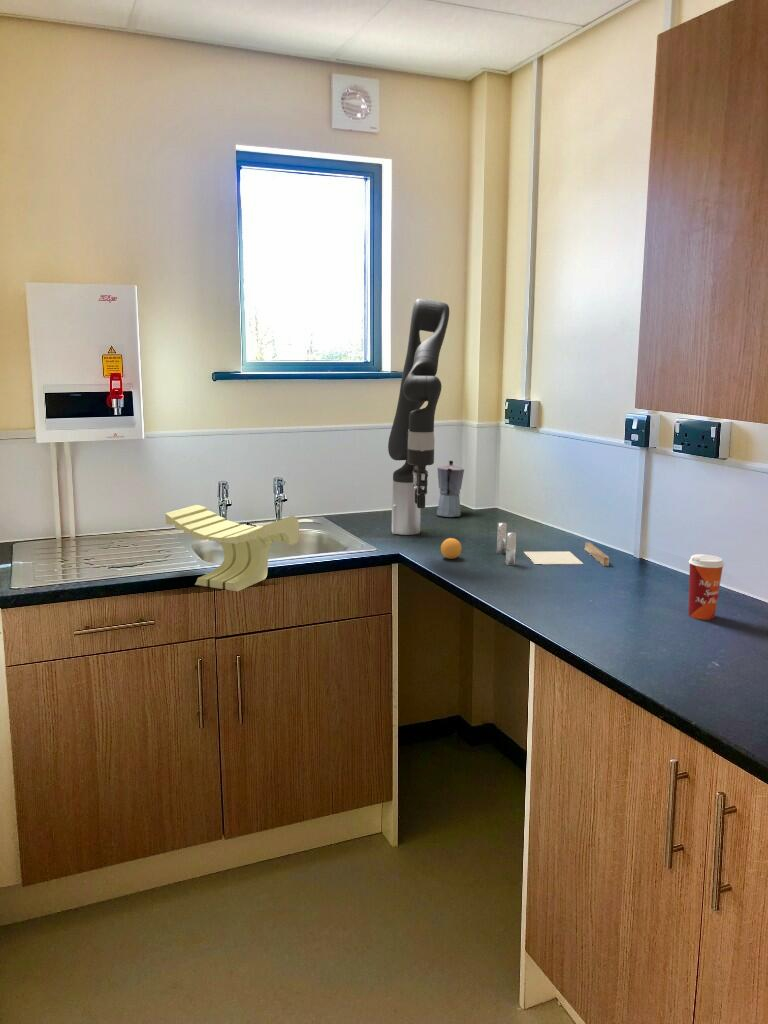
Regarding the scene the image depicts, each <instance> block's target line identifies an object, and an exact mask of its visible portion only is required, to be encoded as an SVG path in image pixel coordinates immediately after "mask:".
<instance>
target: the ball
mask: <svg viewBox="0 0 768 1024" xmlns="http://www.w3.org/2000/svg"><path fill="white" fill-rule="evenodd" d="M462 551H463V550H462V544H461V542H460V541H459V540H458V539H456V538H453V537H449V538H446V539H445V540H443V542H442V543H441V545H440V552H441V554H442V556H443V557H444V558H446V559H448V560H449V559H450V560H453V559H456V558H458V557H459V556H461V553H462Z"/></svg>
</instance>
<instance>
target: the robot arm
mask: <svg viewBox="0 0 768 1024" xmlns="http://www.w3.org/2000/svg"><path fill="white" fill-rule="evenodd" d="M449 318H450V306H449V304H448V303H447V302H443V301H440V300H439V301H438V300H432V299H427V298H420V297H419V298H417V299H416V300H415V301H414V304H413V307H412V311H411V317H410V327H409V336H408V343H407V344H408V345H407V351H406V355H405V361H404V365H403V369H402V375H401V380H400V388H399V394H398V401H397V405H396V410H395V415H394V419H393V422H392V426H391V430H390V434H389V437H388V445H387V452H388V455H389V457H390V459H392V460H394V461H404V463H403V465H402V466H401V467H399V468H398V469H396V470H394V472H393V473H392V502H391V533H392V535H401V536H402V535H404V536H409V535H410V536H412V535H418V534H421V515H422V514H421V512H422V510H421V509H425V508H426V495H427V494H428V477H429V471H428V470H427V468H426V467H427V466H432V465H434V463H435V415H436V411H437V405H438V403H439V400H440V396H441V392H442V382H441V380H440V378H439V377H438V376H437V373H438V368H439V367H438V366H439V357H440V353H441V350H442V346H443V343H444V340H445V336H446V333H447V329H448V324H449V320H450V319H449ZM420 331H423V332H429V333H432V334H431V335H430V336H429V337H427V338H426V339H424V340H423V341H421V337H420ZM426 402H427V405H426V406H425V407H423V405H424V404H425V403H426ZM421 407H423V408H421Z"/></svg>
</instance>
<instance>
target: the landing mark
mask: <svg viewBox="0 0 768 1024" xmlns="http://www.w3.org/2000/svg"><path fill="white" fill-rule="evenodd" d="M523 553H524V554H525V555H526V556H527V558H528V557H529V558H530V559H531V560H530V559H529V558H528V559H529V560H530V561H531V562H532V563H533V564H534V565H535V564H542V565H584V563H583V562H582V561H581V560H580V559H579V558H578V557H577V556H575V555H574V554H573V553H572V552H571V550H570V551H523Z"/></svg>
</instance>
